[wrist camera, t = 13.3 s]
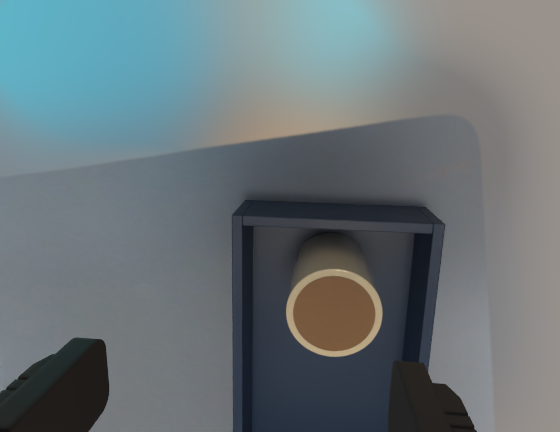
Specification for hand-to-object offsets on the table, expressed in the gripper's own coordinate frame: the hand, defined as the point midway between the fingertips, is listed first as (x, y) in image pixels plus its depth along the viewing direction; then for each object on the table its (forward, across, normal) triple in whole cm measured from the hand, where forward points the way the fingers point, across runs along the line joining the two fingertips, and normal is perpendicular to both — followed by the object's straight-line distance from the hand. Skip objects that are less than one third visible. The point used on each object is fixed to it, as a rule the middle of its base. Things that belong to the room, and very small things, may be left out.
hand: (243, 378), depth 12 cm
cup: (+26, -3, +6) cm, 27 cm away
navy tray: (+26, -3, +13) cm, 29 cm away
